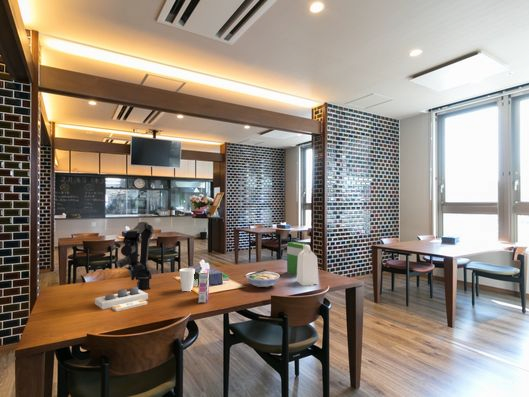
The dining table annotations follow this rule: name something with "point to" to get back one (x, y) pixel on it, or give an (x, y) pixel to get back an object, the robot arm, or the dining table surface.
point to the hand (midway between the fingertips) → (132, 280)
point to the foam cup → (187, 278)
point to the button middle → (122, 293)
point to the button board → (120, 299)
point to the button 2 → (133, 290)
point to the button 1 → (109, 297)
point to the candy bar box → (203, 286)
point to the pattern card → (129, 305)
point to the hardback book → (293, 255)
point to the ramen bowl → (262, 278)
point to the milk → (307, 267)
